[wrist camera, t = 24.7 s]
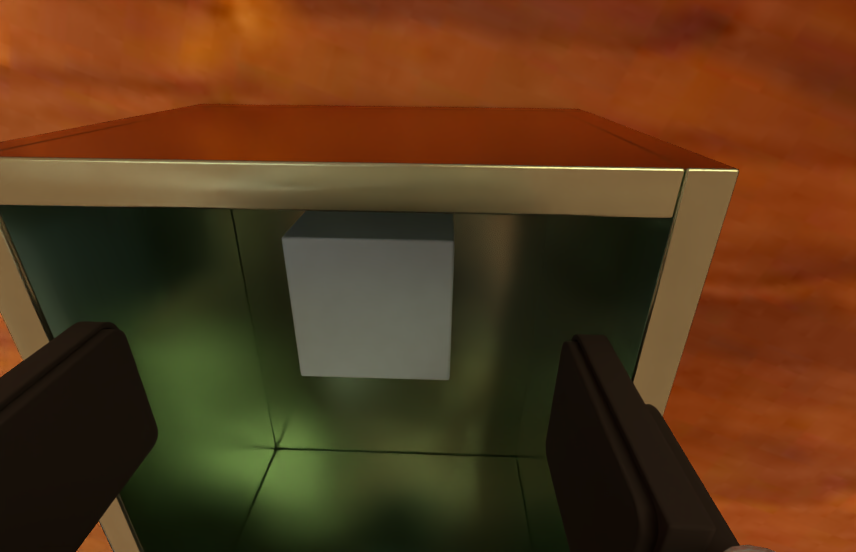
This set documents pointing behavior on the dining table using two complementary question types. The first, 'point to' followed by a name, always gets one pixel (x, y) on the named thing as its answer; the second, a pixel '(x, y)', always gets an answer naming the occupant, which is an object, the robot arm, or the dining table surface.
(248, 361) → the compartment
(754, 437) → the dining table surface
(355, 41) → the dining table surface
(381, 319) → the block
